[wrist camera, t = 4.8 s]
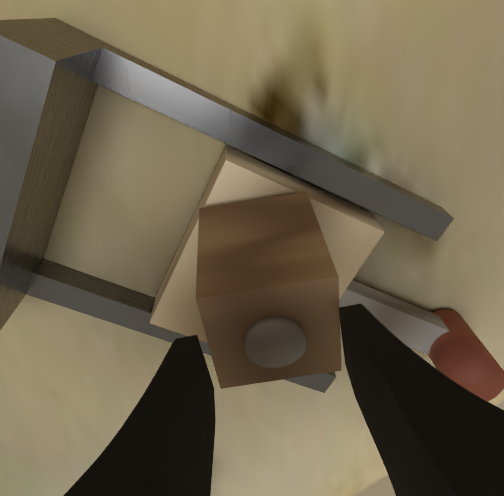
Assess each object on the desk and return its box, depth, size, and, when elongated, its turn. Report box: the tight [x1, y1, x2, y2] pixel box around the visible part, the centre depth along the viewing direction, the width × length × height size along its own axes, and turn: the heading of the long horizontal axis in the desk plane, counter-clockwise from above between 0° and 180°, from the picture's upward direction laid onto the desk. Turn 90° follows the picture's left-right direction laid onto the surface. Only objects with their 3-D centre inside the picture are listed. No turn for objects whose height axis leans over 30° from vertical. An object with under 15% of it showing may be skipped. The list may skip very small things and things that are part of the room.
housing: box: [196, 191, 341, 388], centre depth 15 cm, size 4×4×5 cm
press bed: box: [150, 146, 504, 401], centre depth 20 cm, size 15×8×4 cm, turn 64°
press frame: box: [0, 18, 454, 393], centre depth 18 cm, size 17×11×6 cm, turn 64°
